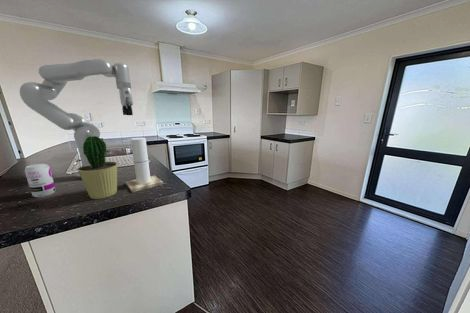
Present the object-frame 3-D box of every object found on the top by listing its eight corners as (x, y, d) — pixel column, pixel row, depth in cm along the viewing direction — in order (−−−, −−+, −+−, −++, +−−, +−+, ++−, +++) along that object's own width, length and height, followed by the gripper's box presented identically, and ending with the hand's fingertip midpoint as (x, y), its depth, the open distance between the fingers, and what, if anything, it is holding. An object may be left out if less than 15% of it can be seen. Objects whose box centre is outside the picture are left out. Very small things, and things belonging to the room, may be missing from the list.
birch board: (132, 192, 91) (131, 189, 90) (125, 184, 101) (125, 181, 100) (163, 184, 101) (162, 181, 101) (154, 177, 111) (154, 175, 111)
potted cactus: (93, 204, 79) (79, 138, 71) (78, 196, 86) (63, 135, 79) (127, 191, 92) (118, 134, 84) (112, 185, 99) (102, 132, 92)
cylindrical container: (140, 185, 96) (134, 140, 90) (134, 182, 100) (128, 138, 94) (153, 181, 101) (148, 138, 95) (146, 178, 105) (141, 137, 99)
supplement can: (55, 189, 94) (47, 162, 90) (57, 193, 89) (49, 165, 85) (32, 194, 88) (23, 165, 84) (33, 199, 83) (23, 169, 79)
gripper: (134, 85, 103) (138, 115, 107) (127, 88, 115) (131, 114, 120) (119, 84, 98) (124, 115, 102) (113, 87, 110) (118, 114, 115)
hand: (127, 115), depth 111 cm, fingers open, 9 cm apart
